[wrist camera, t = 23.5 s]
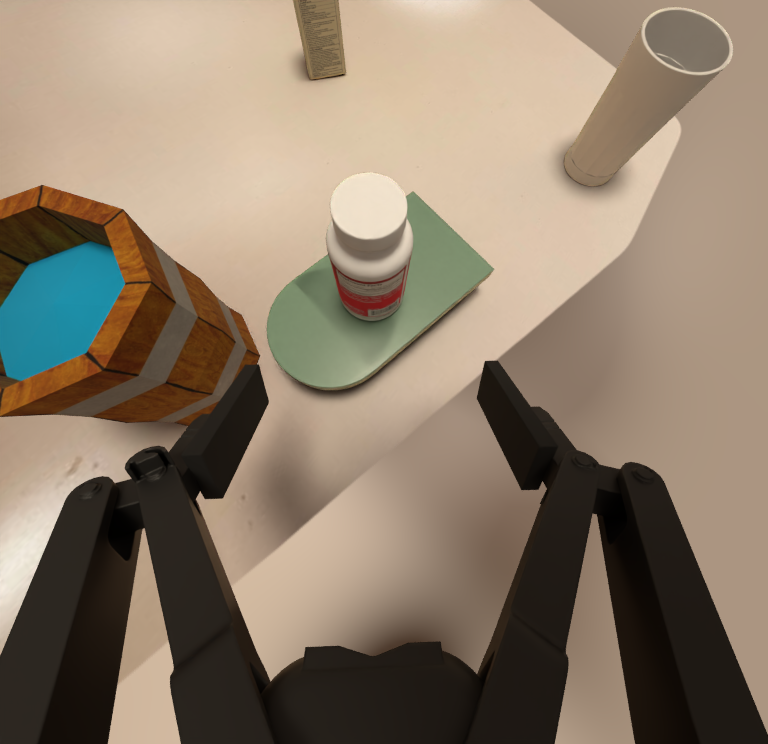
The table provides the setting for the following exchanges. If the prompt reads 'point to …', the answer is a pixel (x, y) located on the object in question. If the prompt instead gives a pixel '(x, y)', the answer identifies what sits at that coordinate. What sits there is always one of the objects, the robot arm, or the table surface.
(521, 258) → the table surface
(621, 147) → the cup
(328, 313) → the green rounded-end slab
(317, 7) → the small juice carton
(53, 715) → the robot arm
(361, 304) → the pill bottle
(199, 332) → the mug
